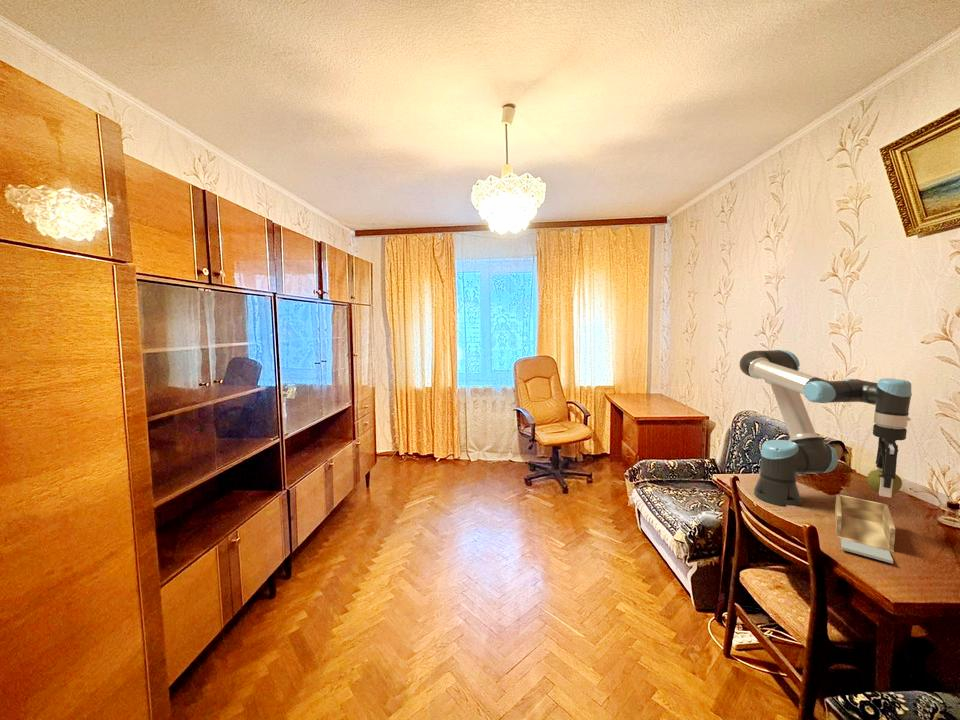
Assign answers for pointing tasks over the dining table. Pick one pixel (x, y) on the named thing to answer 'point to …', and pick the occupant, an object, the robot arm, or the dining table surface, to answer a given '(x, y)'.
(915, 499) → the dining table surface
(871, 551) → the pale blue panel
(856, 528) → the crate
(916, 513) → the dining table surface
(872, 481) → the apple
